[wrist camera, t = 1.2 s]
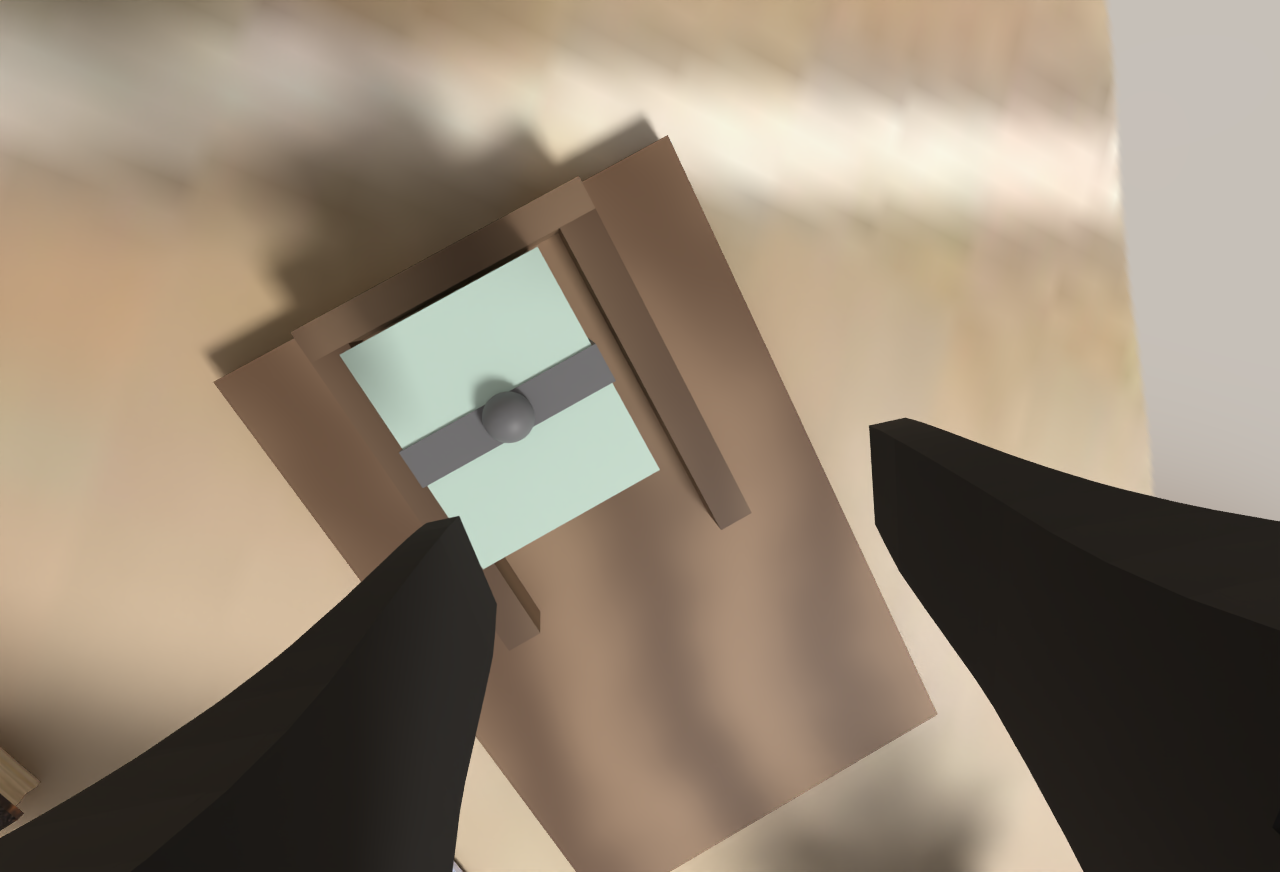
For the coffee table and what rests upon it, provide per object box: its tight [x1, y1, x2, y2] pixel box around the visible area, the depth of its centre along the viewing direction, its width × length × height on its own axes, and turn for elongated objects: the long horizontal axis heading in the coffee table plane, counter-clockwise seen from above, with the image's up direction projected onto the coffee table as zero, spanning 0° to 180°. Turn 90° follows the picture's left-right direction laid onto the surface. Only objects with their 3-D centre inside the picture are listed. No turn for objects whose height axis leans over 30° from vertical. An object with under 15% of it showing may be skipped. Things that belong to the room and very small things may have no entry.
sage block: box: [340, 247, 660, 569], centre depth 17 cm, size 5×6×7 cm
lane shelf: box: [214, 135, 937, 872], centre depth 22 cm, size 16×25×2 cm, turn 28°
